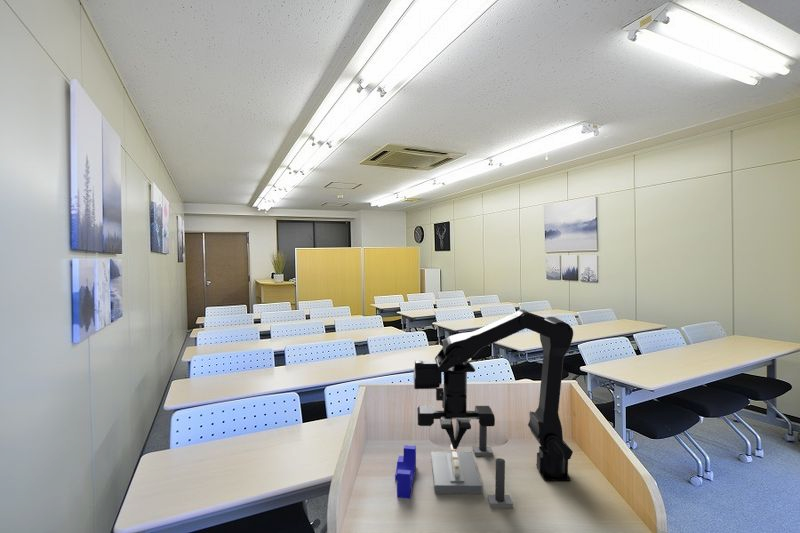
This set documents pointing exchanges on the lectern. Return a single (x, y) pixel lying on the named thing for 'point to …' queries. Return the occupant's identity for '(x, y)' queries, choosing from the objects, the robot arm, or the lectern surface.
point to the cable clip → (406, 471)
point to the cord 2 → (499, 488)
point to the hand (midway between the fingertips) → (454, 448)
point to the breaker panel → (445, 474)
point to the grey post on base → (482, 443)
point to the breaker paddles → (455, 461)
